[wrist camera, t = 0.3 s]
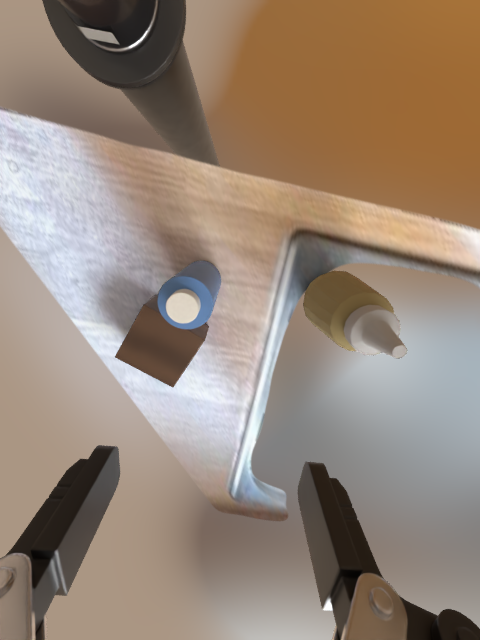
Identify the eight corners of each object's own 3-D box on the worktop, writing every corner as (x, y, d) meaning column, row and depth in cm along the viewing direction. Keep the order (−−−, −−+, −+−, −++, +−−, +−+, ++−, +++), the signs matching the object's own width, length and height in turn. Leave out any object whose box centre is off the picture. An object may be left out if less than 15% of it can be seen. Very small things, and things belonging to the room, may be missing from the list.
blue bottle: (195, 252, 34) (169, 267, 22) (228, 274, 35) (222, 300, 23) (176, 285, 36) (142, 316, 23) (208, 305, 37) (193, 345, 24)
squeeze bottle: (353, 263, 35) (462, 295, 18) (352, 317, 38) (444, 389, 21) (295, 270, 35) (348, 309, 18) (298, 323, 38) (346, 400, 21)
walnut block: (156, 294, 36) (143, 304, 32) (209, 326, 38) (205, 339, 33) (129, 341, 39) (114, 357, 34) (180, 369, 41) (173, 387, 36)
